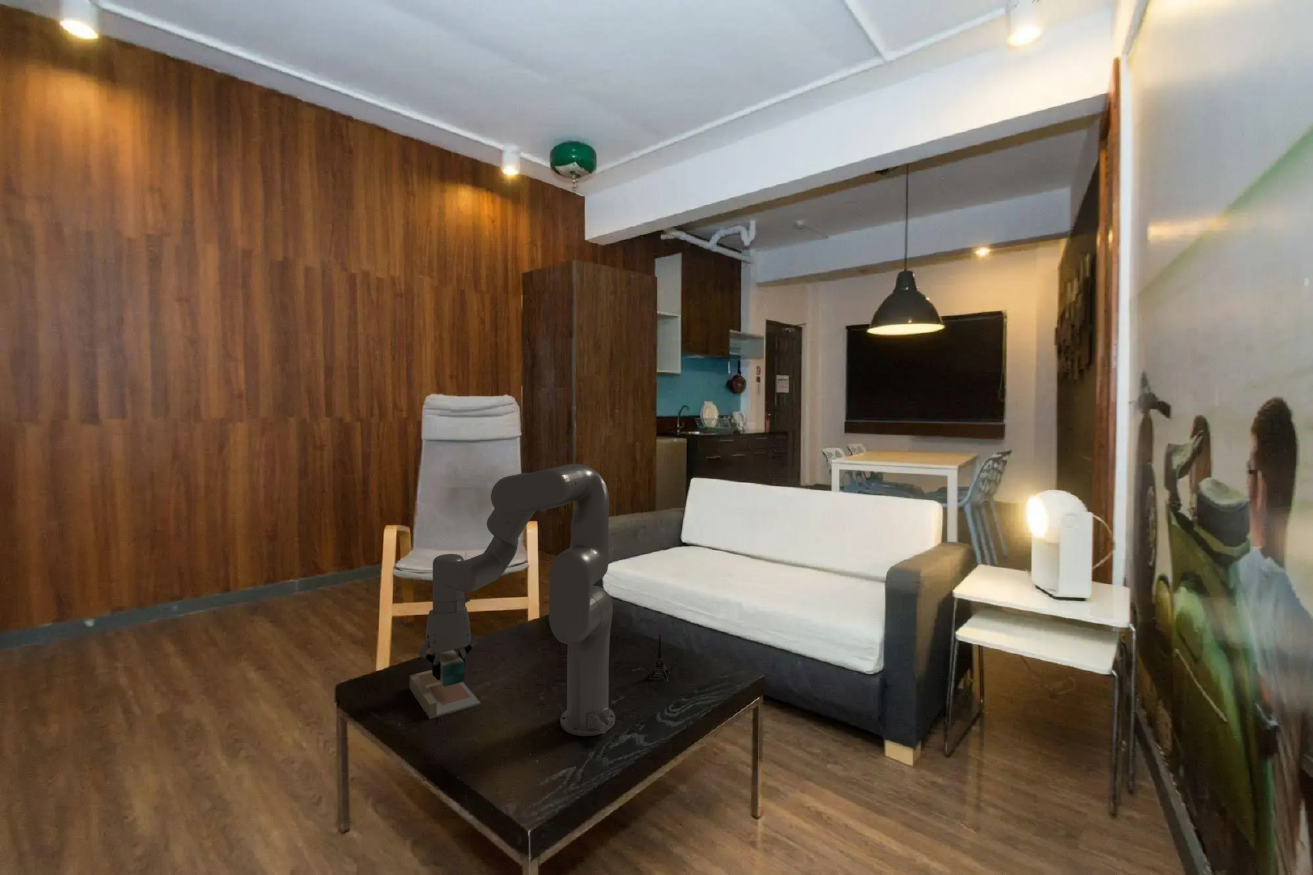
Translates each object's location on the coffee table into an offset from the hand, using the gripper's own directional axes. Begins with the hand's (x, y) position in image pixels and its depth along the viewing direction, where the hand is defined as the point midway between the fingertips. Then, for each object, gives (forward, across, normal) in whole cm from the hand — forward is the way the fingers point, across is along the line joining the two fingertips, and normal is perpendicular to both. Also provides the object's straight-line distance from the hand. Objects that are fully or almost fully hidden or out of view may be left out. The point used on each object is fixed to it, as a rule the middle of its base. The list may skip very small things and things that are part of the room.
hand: (448, 674), depth 153 cm
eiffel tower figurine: (+5, -50, +22) cm, 55 cm away
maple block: (+1, 0, 0) cm, 1 cm away
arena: (+5, +1, +1) cm, 5 cm away
